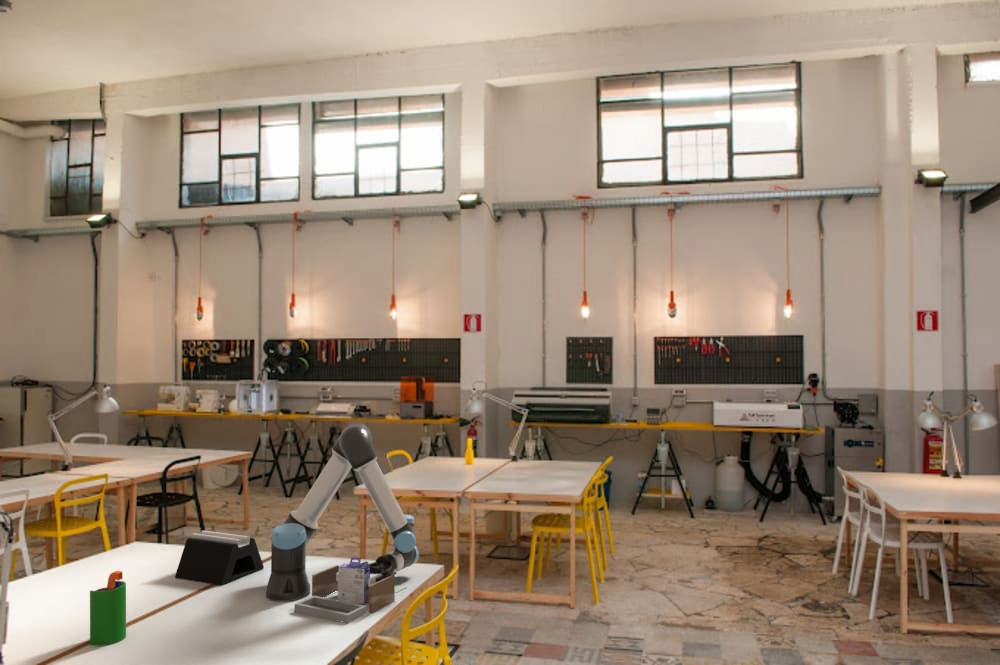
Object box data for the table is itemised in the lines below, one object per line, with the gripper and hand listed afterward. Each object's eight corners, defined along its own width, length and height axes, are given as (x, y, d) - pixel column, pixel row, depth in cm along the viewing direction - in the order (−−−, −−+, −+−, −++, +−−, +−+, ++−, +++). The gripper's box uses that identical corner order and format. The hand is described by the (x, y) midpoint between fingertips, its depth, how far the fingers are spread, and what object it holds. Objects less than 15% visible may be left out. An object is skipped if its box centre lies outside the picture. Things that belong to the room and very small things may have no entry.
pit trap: (294, 611, 245) (294, 604, 245) (313, 602, 253) (313, 595, 253) (348, 623, 235) (348, 615, 235) (366, 613, 243) (366, 606, 243)
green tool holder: (101, 632, 226) (102, 566, 227) (131, 632, 227) (132, 566, 227) (85, 646, 216) (86, 577, 217) (117, 645, 217) (118, 576, 217)
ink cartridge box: (370, 599, 257) (371, 557, 257) (364, 605, 252) (365, 562, 252) (343, 597, 259) (344, 555, 259) (337, 602, 254) (337, 560, 254)
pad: (350, 590, 266) (350, 589, 266) (370, 581, 277) (370, 580, 277) (387, 597, 259) (387, 596, 259) (406, 587, 269) (406, 587, 269)
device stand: (218, 562, 300) (219, 525, 300) (263, 569, 291) (264, 531, 292) (175, 579, 279) (175, 538, 280) (221, 586, 271) (222, 545, 271)
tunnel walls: (311, 601, 255) (312, 575, 255) (336, 590, 266) (336, 565, 266) (371, 613, 243) (371, 586, 244) (394, 601, 255) (394, 575, 255)
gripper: (417, 579, 267) (383, 596, 248) (361, 569, 279) (324, 585, 260) (417, 558, 268) (383, 574, 249) (361, 549, 279) (324, 564, 260)
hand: (352, 580), depth 254 cm, fingers open, 13 cm apart
